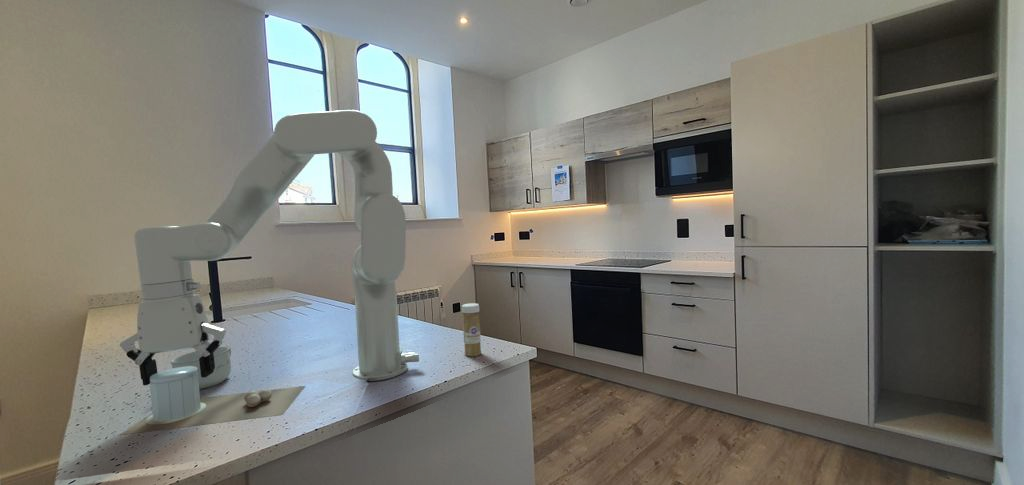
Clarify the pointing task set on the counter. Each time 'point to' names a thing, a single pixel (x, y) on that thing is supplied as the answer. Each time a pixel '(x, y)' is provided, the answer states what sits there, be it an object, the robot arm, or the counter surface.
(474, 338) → the sprinkles bottle
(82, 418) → the counter surface
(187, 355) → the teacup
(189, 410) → the blue cup
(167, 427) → the brown board
